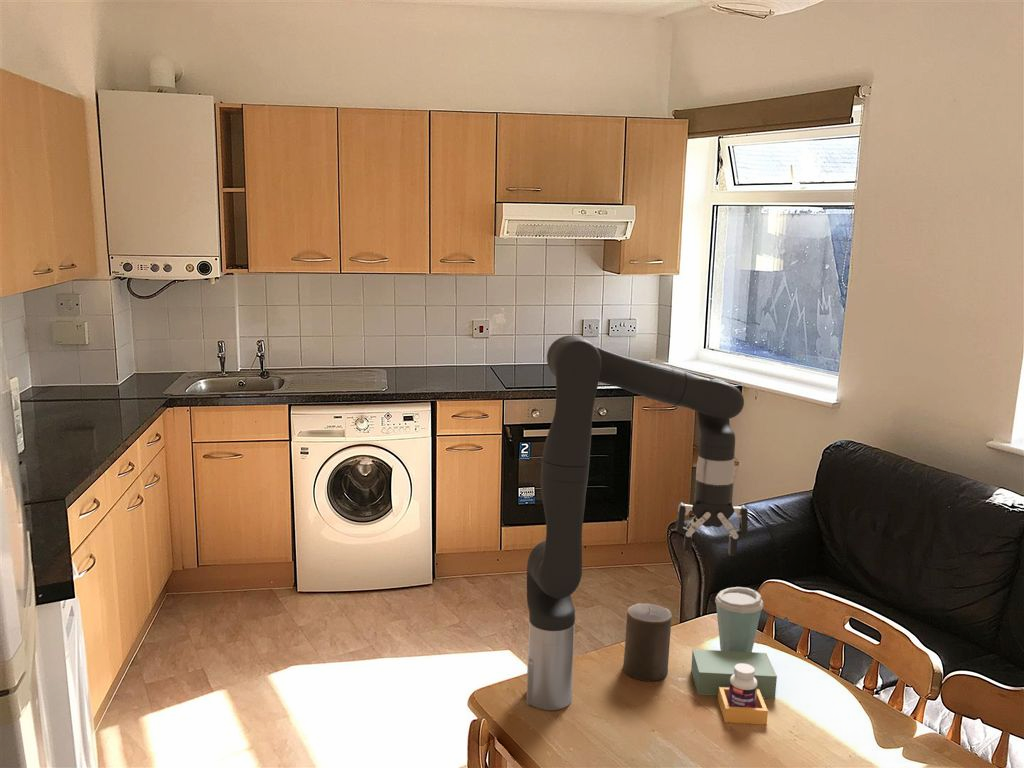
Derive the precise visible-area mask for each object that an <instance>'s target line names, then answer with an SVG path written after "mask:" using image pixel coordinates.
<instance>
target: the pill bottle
mask: <svg viewBox="0 0 1024 768" xmlns="http://www.w3.org/2000/svg"><path fill="white" fill-rule="evenodd" d="M754 675H755V669H754V667H752V666H751V665H748V664H744V663H739V664H736V665H735V667H734V674H733V675H732V676H731V678H730V685H729V698H728V704H729V707H746V708H756V695H757V680H756V679H755V677H754Z"/></svg>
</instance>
